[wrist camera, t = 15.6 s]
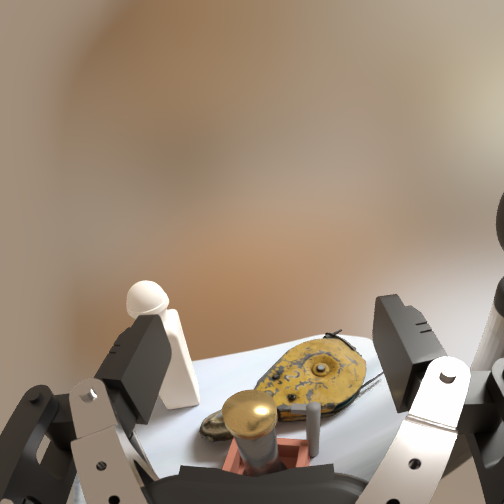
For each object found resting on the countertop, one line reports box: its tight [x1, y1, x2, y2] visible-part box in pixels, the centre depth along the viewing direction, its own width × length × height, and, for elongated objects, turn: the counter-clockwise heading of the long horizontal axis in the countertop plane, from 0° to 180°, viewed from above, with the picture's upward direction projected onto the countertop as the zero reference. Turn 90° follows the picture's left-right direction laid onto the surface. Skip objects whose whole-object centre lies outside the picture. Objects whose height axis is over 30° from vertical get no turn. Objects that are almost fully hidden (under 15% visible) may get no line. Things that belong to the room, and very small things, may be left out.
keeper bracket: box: [222, 402, 321, 475], centre depth 29 cm, size 11×11×11 cm
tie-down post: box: [222, 390, 287, 477], centre depth 28 cm, size 6×6×16 cm
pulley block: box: [199, 330, 384, 442], centre depth 43 cm, size 14×6×30 cm
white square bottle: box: [126, 281, 200, 409], centre depth 43 cm, size 6×6×22 cm
